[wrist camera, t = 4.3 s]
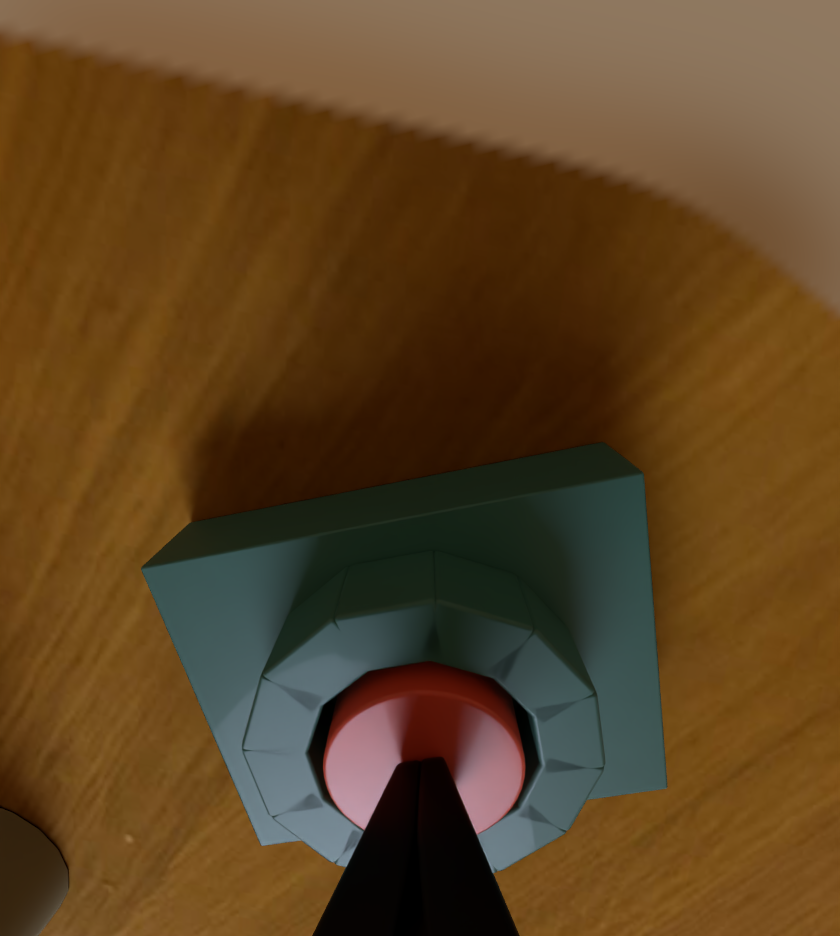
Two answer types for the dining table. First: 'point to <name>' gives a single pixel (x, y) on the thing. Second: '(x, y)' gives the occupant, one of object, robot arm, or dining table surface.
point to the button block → (428, 631)
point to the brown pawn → (28, 877)
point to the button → (425, 738)
